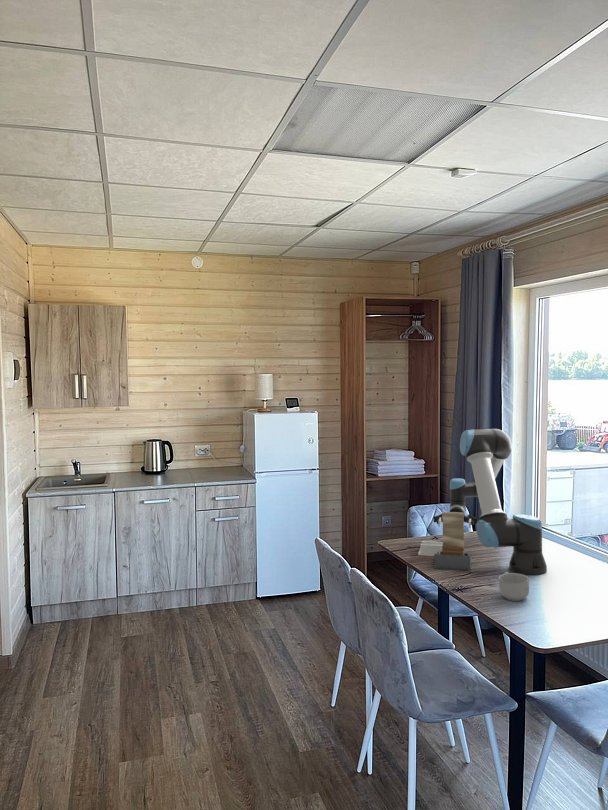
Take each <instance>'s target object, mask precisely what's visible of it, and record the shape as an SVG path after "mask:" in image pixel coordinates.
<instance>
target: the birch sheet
mask: <svg viewBox="0 0 608 810" xmlns="http://www.w3.org/2000/svg"><path fill="white" fill-rule="evenodd" d="M441 514H442V520H443V522H442V542H443V545H446V546H464V547H465V538H464V537H465V526H464V525H465V522H464V512H449V511H442V513H441Z"/></svg>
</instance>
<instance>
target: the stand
mask: <svg viewBox="0 0 608 810" xmlns="http://www.w3.org/2000/svg"><path fill="white" fill-rule="evenodd" d="M419 545H420V546H419V547H420V548H419V551H418V553H417V556H426V557H434V554H437V552H439V554H440V551H442V546H443V541H436V540H435V541H434V540H421V543H420V544H419Z"/></svg>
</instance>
